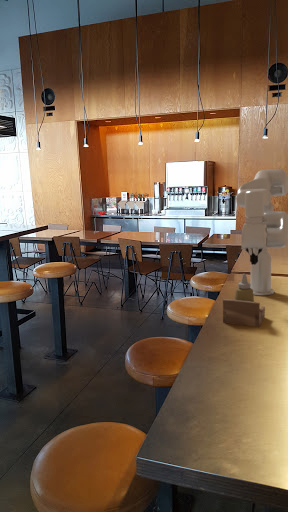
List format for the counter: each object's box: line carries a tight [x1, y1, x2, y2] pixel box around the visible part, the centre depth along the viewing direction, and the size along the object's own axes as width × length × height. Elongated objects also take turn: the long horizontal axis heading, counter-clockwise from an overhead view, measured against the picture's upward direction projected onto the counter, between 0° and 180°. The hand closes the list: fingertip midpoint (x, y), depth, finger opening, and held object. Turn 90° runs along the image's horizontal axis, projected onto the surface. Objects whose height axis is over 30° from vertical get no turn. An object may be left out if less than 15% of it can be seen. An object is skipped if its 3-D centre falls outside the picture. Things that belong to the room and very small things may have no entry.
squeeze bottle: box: [234, 273, 255, 302], centre depth 142 cm, size 8×8×18 cm
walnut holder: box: [222, 298, 266, 328], centre depth 141 cm, size 11×13×9 cm
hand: (254, 263), depth 154 cm, fingers closed
